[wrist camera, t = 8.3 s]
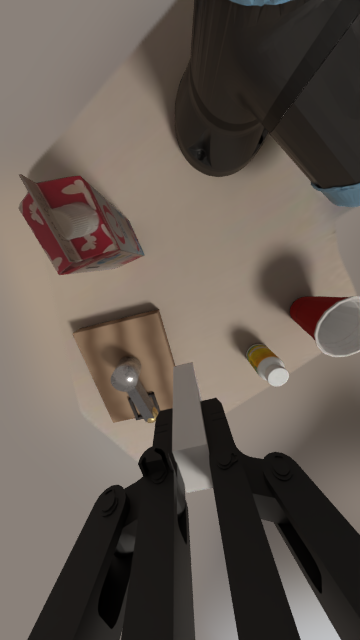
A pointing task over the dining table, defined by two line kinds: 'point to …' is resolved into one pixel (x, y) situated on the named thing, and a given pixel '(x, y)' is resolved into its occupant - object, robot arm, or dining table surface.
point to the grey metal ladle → (134, 386)
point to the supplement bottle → (267, 364)
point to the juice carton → (78, 226)
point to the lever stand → (137, 341)
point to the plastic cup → (330, 323)
